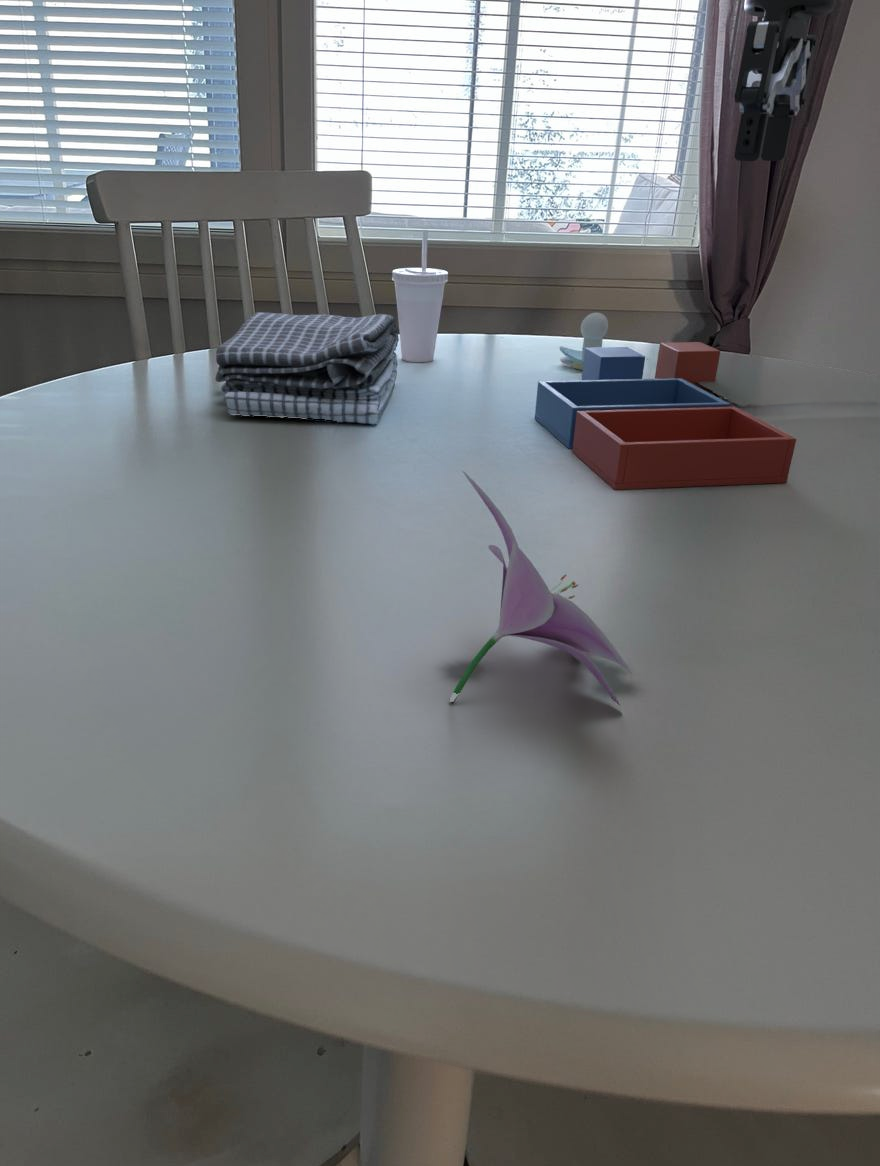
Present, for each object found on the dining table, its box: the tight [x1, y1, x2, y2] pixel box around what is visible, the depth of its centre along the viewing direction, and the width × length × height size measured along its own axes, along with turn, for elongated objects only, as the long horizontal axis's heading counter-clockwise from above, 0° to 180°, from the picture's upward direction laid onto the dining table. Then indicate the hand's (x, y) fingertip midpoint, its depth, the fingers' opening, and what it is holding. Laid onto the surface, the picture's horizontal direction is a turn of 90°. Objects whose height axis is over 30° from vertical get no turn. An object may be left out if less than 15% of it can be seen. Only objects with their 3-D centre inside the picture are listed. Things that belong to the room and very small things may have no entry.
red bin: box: [571, 406, 797, 491], centre depth 75 cm, size 14×10×4 cm
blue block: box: [581, 346, 646, 380], centre depth 94 cm, size 5×5×5 cm
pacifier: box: [559, 312, 609, 371], centre depth 107 cm, size 7×6×6 cm
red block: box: [654, 341, 721, 395], centre depth 98 cm, size 5×5×5 cm
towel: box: [214, 311, 400, 425], centre depth 90 cm, size 15×18×8 cm
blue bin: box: [534, 378, 731, 450], centre depth 84 cm, size 14×10×4 cm
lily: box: [452, 471, 633, 706], centre depth 43 cm, size 12×12×10 cm
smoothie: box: [391, 229, 449, 363], centre depth 107 cm, size 6×6×14 cm
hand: (760, 160), depth 87 cm, fingers open, 8 cm apart
